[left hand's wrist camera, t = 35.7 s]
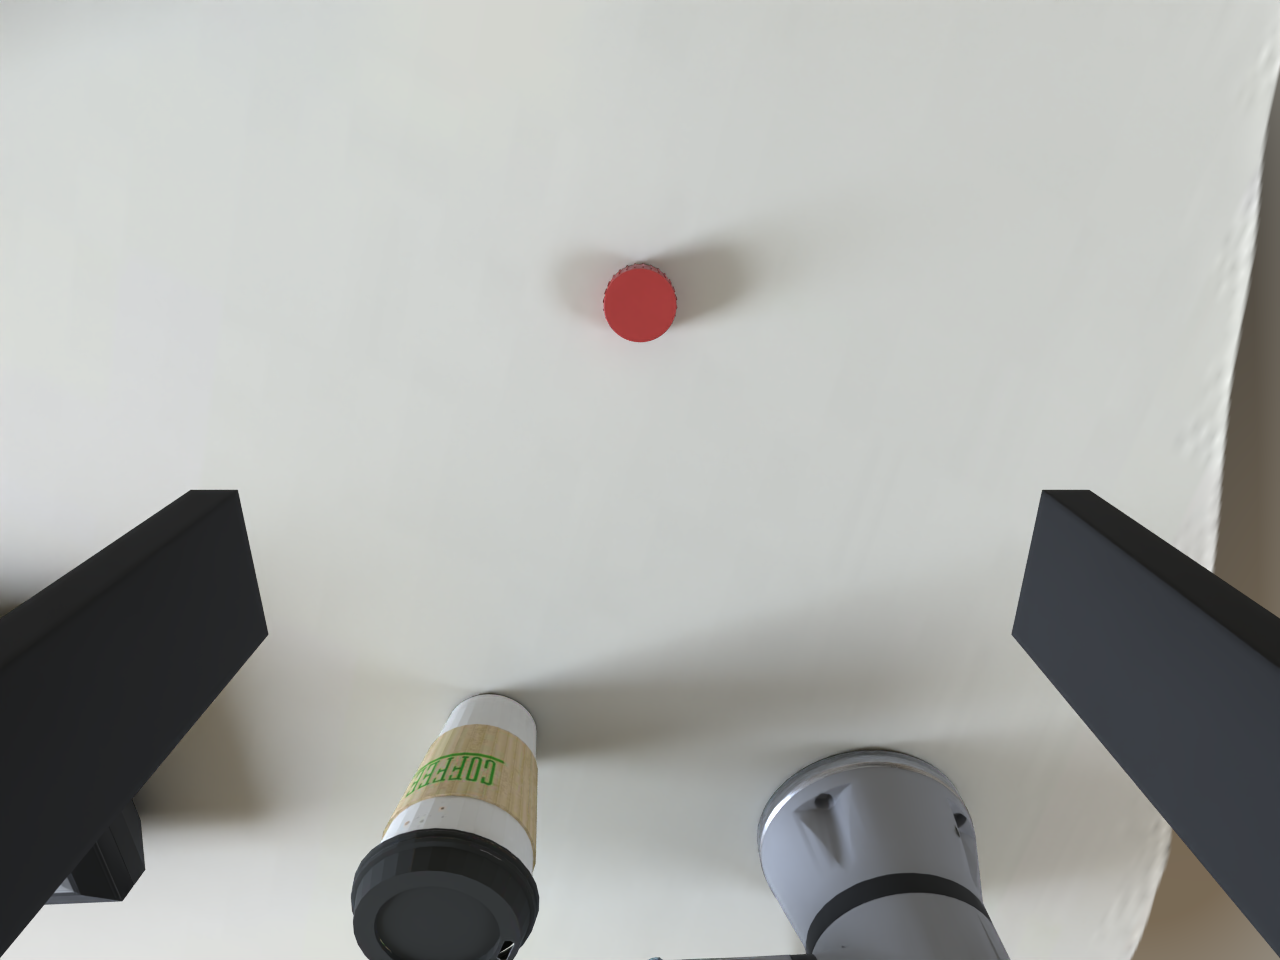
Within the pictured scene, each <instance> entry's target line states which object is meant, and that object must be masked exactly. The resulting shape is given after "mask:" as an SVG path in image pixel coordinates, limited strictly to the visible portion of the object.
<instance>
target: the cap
mask: <svg viewBox="0 0 1280 960" xmlns="http://www.w3.org/2000/svg"><path fill="white" fill-rule="evenodd" d="M674 292H675V289H674V287H672V285H671V281H670V279H668V278H667V277H666V274H665V273H664V274H663V273H662V272H661V271H660V270H659V268H658V269H656V268H655V267H652V265H650V266H649V265H644V263H642V264H634V265H631V266H626V268H624V269H622V270H621V269H620V270H619V272H618V273H617V274H616V275H613V278H612V280H611V281H609V283H608V288H607V289H606V290H605V293H604V294H605V297H604V300H603V303H604V309H603V310H604V312H605V316H606V317H605V318H606V319H607V321H608V323H609V325H610V327H611V328H612V329H613V330H614V331H615V332H616V333H617V334H618V335H619V336H621V337H622V338H624V339H627V340H629V341H633V342H647V341H651V340H654V339H656V338H658V337H659V336H661V335H662V334H664V333H665V332H666V331H667V330H668V328H669V327H670V326H671V324H672V322H673V320H674V317H675V316H676V315H675V314H676V309H677V305H676V300H677V297H676V294H675V293H674Z"/></svg>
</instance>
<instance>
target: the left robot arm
mask: <svg viewBox="0 0 1280 960" xmlns="http://www.w3.org/2000/svg"><path fill="white" fill-rule="evenodd" d="M267 636H268V630H267V625H266V621H265V616H264V611H263V607H262V602H261V597H260V592H259V588H258V583H257V578H256V574H255V569H254V564H253V560H252V555H251V550H250V545H249V541H248V536H247V531H246V527H245V522H244V517H243V512H242V508H241V503H240V498H239V494H238V490H190V491H188V492H187V493H185V494H184V495H183V496H181V497H180V498H178V499H177V500H175V501H174V502H172V503H171V504H169V505H168V506H166V507H165V508H163V509H162V510H160V511H159V512H157V513H156V514H154V515H153V516H151V517H150V518H148V519H147V520H145V521H144V522H143V523H141V524H140V525H138V526H137V527H135V528H134V529H132V530H131V531H129V532H128V533H126V534H125V535H123V536H122V537H120V538H119V539H117V540H116V541H114V542H113V543H111V544H110V545H108V546H107V547H105V548H104V549H103V550H101V551H100V552H98V553H97V554H95V555H94V556H92V557H91V558H89V559H88V560H86V561H85V562H83V563H82V564H80V565H79V566H77V567H76V568H74V569H73V570H71V571H70V572H68V573H67V574H66V575H64V576H63V577H61V578H60V579H58V580H57V581H55V582H54V583H52V584H51V585H49V586H48V587H46V588H45V589H43V590H42V591H40V592H39V593H37V594H36V595H34V596H33V597H31V598H30V599H28V600H27V601H26V602H24V603H23V604H21V605H20V606H18V607H17V608H15V609H14V610H12V611H11V612H9V613H8V614H6V615H5V616H3V617H2V618H0V957H1V956H2V955H3V954H4V953H5V951H6V950H7V949H8V948H9V947H10V945H11V944H12V943H13V942H14V941H15V939H16V938H17V937H18V936H19V934H20V933H21V932H22V931H23V930H24V928H25V927H26V926H27V925H28V924H29V922H30V921H31V920H32V919H33V918H34V916H35V915H36V914H37V913H38V912H39V910H40V909H41V908H42V907H43V906H44V904H45V903H46V902H47V901H48V900H49V898H50V897H51V896H52V895H53V894H54V892H55V891H56V890H57V889H58V887H59V886H60V885H61V884H62V883H63V881H64V880H65V879H66V878H67V877H68V875H69V874H70V873H71V872H72V871H73V869H74V868H75V867H76V866H77V865H78V863H79V862H80V861H81V860H82V859H83V857H84V856H85V855H86V854H87V853H88V851H89V850H90V849H91V848H92V847H93V845H94V844H95V843H96V842H97V840H98V839H99V838H100V837H101V836H102V834H103V833H104V832H105V831H106V830H107V828H108V827H109V826H110V825H111V824H112V822H113V821H114V820H115V819H116V818H117V816H118V815H119V814H120V813H121V812H122V810H123V809H124V808H125V807H126V806H127V804H128V803H129V802H130V801H131V800H132V798H133V797H134V796H135V795H136V793H137V792H138V791H139V790H140V789H141V787H142V786H143V785H144V784H145V783H146V781H147V780H148V779H149V778H150V777H151V775H152V774H153V773H154V772H155V771H156V769H157V768H158V767H159V766H160V765H161V763H162V762H163V761H164V760H165V759H166V757H167V756H168V755H169V754H170V753H171V751H172V750H173V749H174V748H175V746H176V745H177V744H178V743H179V742H180V740H181V739H182V738H183V737H184V736H185V734H186V733H187V732H188V731H189V730H190V728H191V727H192V726H193V725H194V724H195V722H196V721H197V720H198V719H199V718H200V716H201V715H202V714H203V713H204V712H205V710H206V709H207V708H208V707H209V706H210V704H211V703H212V702H213V701H214V699H215V698H216V697H217V696H218V695H219V693H220V692H221V691H222V690H223V689H224V687H225V686H226V685H227V684H228V683H229V681H230V680H231V679H232V678H233V677H234V675H235V674H236V673H237V672H238V671H239V669H240V668H241V667H242V666H243V665H244V663H245V662H246V661H247V660H248V658H249V657H250V656H251V655H252V654H253V652H254V651H255V650H256V649H257V648H258V646H259V645H260V644H261V643H262V642H263V640H264V639H265V638H266V637H267ZM1012 636H1013V637H1014V638H1015V639H1016V640H1017V642H1018V643H1019V644H1020V645H1021V646H1022V648H1023V649H1024V650H1025V651H1026V652H1027V654H1028V655H1029V656H1030V657H1031V658H1032V660H1033V661H1034V662H1035V663H1036V665H1037V666H1038V667H1039V668H1040V669H1041V671H1042V672H1043V673H1044V674H1045V675H1046V677H1047V678H1048V679H1049V680H1050V681H1051V683H1052V684H1053V685H1054V686H1055V687H1056V689H1057V690H1058V691H1059V692H1060V693H1061V695H1062V696H1063V697H1064V698H1065V699H1066V701H1067V702H1068V703H1069V704H1070V706H1071V707H1072V708H1073V709H1074V710H1075V712H1076V713H1077V714H1078V715H1079V716H1080V718H1081V719H1082V720H1083V721H1084V722H1085V724H1086V725H1087V726H1088V727H1089V728H1090V730H1091V731H1092V732H1093V733H1094V734H1095V736H1096V737H1097V738H1098V739H1099V740H1100V742H1101V743H1102V744H1103V745H1104V746H1105V748H1106V749H1107V750H1108V751H1109V753H1110V754H1111V755H1112V756H1113V757H1114V759H1115V760H1116V761H1117V762H1118V763H1119V765H1120V766H1121V767H1122V768H1123V769H1124V771H1125V772H1126V773H1127V774H1128V775H1129V777H1130V778H1131V779H1132V780H1133V781H1134V783H1135V784H1136V785H1137V786H1138V787H1139V789H1140V790H1141V791H1142V792H1143V793H1144V795H1145V796H1146V797H1147V798H1148V800H1149V801H1150V802H1151V803H1152V804H1153V806H1154V807H1155V808H1156V809H1157V810H1158V812H1159V813H1160V814H1161V815H1162V816H1163V818H1164V819H1165V820H1166V821H1167V822H1168V824H1169V825H1170V826H1171V827H1172V828H1173V830H1174V831H1175V832H1176V833H1177V834H1178V836H1179V837H1180V838H1181V839H1182V840H1183V842H1184V843H1185V844H1186V845H1187V847H1188V848H1189V849H1190V850H1191V851H1192V853H1193V854H1194V855H1195V856H1196V857H1197V859H1198V860H1199V861H1200V862H1201V863H1202V865H1203V866H1204V867H1205V868H1206V869H1207V871H1208V872H1209V873H1210V874H1211V875H1212V877H1213V878H1214V879H1215V880H1216V881H1217V883H1218V884H1219V885H1220V886H1221V887H1222V889H1223V890H1224V891H1225V892H1226V893H1227V895H1228V896H1229V897H1230V898H1231V900H1232V901H1233V902H1234V903H1235V904H1236V905H1237V907H1238V908H1239V909H1240V910H1241V912H1242V913H1243V914H1244V915H1245V916H1246V918H1247V919H1248V920H1249V921H1250V922H1251V924H1252V925H1253V926H1254V927H1255V928H1256V930H1257V931H1258V932H1259V933H1260V934H1261V936H1262V937H1263V938H1264V939H1265V940H1266V942H1267V943H1268V944H1269V945H1270V947H1271V948H1272V949H1273V950H1274V951H1275V953H1276V954H1277V955H1278V956H1279V957H1280V618H1278V617H1277V616H1275V615H1274V614H1272V613H1271V612H1269V611H1268V610H1266V609H1265V608H1263V607H1262V606H1260V605H1259V604H1257V603H1256V602H1254V601H1253V600H1251V599H1250V598H1249V597H1247V596H1246V595H1244V594H1243V593H1241V592H1240V591H1238V590H1237V589H1235V588H1234V587H1232V586H1231V585H1229V584H1228V583H1226V582H1225V581H1223V580H1222V579H1220V578H1219V577H1217V576H1216V575H1214V574H1213V573H1212V572H1210V571H1209V570H1207V569H1206V568H1204V567H1203V566H1201V565H1200V564H1198V563H1197V562H1195V561H1194V560H1192V559H1191V558H1189V557H1188V556H1186V555H1185V554H1183V553H1182V552H1180V551H1179V550H1177V549H1176V548H1175V547H1173V546H1172V545H1170V544H1169V543H1167V542H1166V541H1164V540H1163V539H1161V538H1160V537H1158V536H1157V535H1155V534H1154V533H1152V532H1151V531H1149V530H1148V529H1146V528H1145V527H1143V526H1142V525H1140V524H1139V523H1137V522H1136V521H1135V520H1133V519H1132V518H1130V517H1129V516H1127V515H1126V514H1124V513H1123V512H1121V511H1120V510H1118V509H1117V508H1115V507H1114V506H1112V505H1111V504H1109V503H1108V502H1106V501H1105V500H1103V499H1102V498H1100V497H1099V496H1097V495H1096V494H1095V493H1093V492H1092V491H1090V490H1042V494H1041V498H1040V503H1039V508H1038V512H1037V517H1036V522H1035V527H1034V531H1033V536H1032V541H1031V545H1030V550H1029V555H1028V560H1027V564H1026V569H1025V574H1024V578H1023V583H1022V588H1021V592H1020V597H1019V602H1018V607H1017V611H1016V616H1015V621H1014V625H1013V630H1012ZM757 842H758V849H759V855H760V861H761V866H762V870H763V873H764V876H765V878H766V881H767V883H768V885H769V887H770V889H771V891H772V892H773V894H774V896H775V897H776V898H777V900H778V902H779V904H780V906H781V907H782V909H783V911H784V913H785V914H786V916H787V918H788V920H789V921H790V923H791V925H792V927H793V928H794V930H795V932H796V933H797V935H798V937H799V938H800V940H801V942H802V943H803V945H804V947H805V950H806V954H802V955H776V956H758V957H737V958H710V959H684V960H1010V958H1009V956H1008V954H1007V952H1006V950H1005V948H1004V946H1003V944H1002V942H1001V940H1000V938H999V936H998V934H997V932H996V930H995V928H994V926H993V924H992V921H991V919H990V917H989V915H988V913H987V911H986V909H985V907H984V904H983V900H982V891H981V882H980V873H979V864H978V855H977V846H976V837H975V832H974V828H973V823H972V820H971V817H970V814H969V812H968V810H967V808H966V806H965V804H964V802H963V800H962V798H961V797H960V795H959V793H958V791H957V790H956V788H955V786H954V785H953V784H952V783H951V781H950V780H949V779H948V778H947V777H946V776H945V775H944V774H943V773H941V772H940V771H939V770H938V769H936V768H935V767H933V766H931V765H930V764H928V763H926V762H924V761H922V760H920V759H917V758H915V757H912V756H908V755H905V754H901V753H896V752H890V751H877V750H868V751H855V752H848V753H844V754H839V755H835V756H832V757H828V758H826V759H823V760H820V761H818V762H816V763H814V764H811V765H809V766H808V767H806V768H804V769H802V770H801V771H799V772H798V773H796V774H795V775H793V776H792V777H791V778H789V779H788V780H787V781H786V782H785V783H784V784H782V785H781V786H780V787H779V788H778V790H777V791H776V792H775V793H774V794H773V796H772V797H771V798H770V800H769V801H768V803H767V805H766V807H765V808H764V810H763V813H762V815H761V818H760V822H759V825H758V833H757ZM649 960H662V959H661V958H660V957H655V958H651V959H649Z"/></svg>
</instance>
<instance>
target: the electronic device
mask: <svg viewBox="0 0 1280 960" xmlns="http://www.w3.org/2000/svg"><path fill="white" fill-rule="evenodd" d="M144 871H145V862H144V852H143V841H142V830H141V820H140V818H139V815H138V813H137V810H136V808H135V806H134V803H133V801H132V800H131V801H130V802H129V803H128V804H127V806H126V807H125V808H124V809H123V810H122V812H121V813H120V814H119V815H118V816H117V818H116V819H115V820H114V821H113V822H112V824H111V825H110V826H109V827H108V828H107V830H106V831H105V832H104V833H103V834H102V836H101V837H100V838H99V839H98V840H97V842H96V843H95V844H94V845H93V847H92V848H91V849H90V850H89V851H88V853H87V854H86V855H85V856H84V857H83V859H82V860H81V861H80V862H79V863H78V865H77V866H76V867H75V868H74V869H73V871H72V872H71V873H70V874H69V875H68V877H67V878H66V879H65V880H64V881H63V883H62V884H61V885H60V886H59V887H58V889H57V890H56V891H55V892H54V894H53V895H52V896H51V897H50V898H49V900H48V901H47V902H46V903H45V904H44V905H46V904H69V903H92V902H115V901H123V900H124V898H125V897H126V896H127V894H128V893H129V891H130V890H131V889H132V887H133V885H134V884H135V883H136V882H137V880H138V879H139V878H140V876H141V875H142V873H143V872H144Z"/></svg>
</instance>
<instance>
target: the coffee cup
mask: <svg viewBox="0 0 1280 960" xmlns="http://www.w3.org/2000/svg"><path fill="white" fill-rule="evenodd" d="M536 734H537V730H536V725H535V722H534V720H533V718H532V716H531V715H530V713H529V712H528V711H527V710H526V709H525V708H524V707H523V706H522V705H521V704H519V703H518V702H516V701H514V700H512V699H510V698H507V697H504V696H500V695H491V694H486V695H478V696H474V697H471V698H469V699H467V700H464V701H463V702H461V703H460V704H459V705H457V707H456V708H455V709H454V710H453V711H452V713H451V715H450V717H449V718H448V720H447V722H446V724H445V726H444V728H443V729H442V731H441V733H440V735H439V737H438V738H437V739H436V740H435V742H434V743H433V744H432V745H431V747H430V749H429V750H428V752H427V754H426V756H425V758H424V759H423V761H422V763H421V765H420V767H419V768H418V770H417V772H416V774H415V775H414V777H413V779H412V781H411V783H410V784H409V786H408V788H407V790H406V792H405V793H404V795H403V797H402V799H401V801H400V802H399V804H398V806H397V808H396V809H395V811H394V813H393V815H392V817H391V818H390V820H389V822H388V824H387V826H386V828H385V830H384V832H383V837H382V841H381V843H380V844H379V845H378V846H376V847H375V848H374V849H372V850H371V851H370V852H369V853H368V854H367V855H366V857H365V858H364V859H363V860H362V861H361V863H360V865H359V867H358V869H357V871H356V873H355V877H354V882H353V887H352V893H351V903H352V912H353V915H354V917H353V927H354V935H355V937H356V940H357V943H358V945H359V947H360V948H361V950H362V951H363V953H364V955H365V956H366V957H367V958H368V959H369V960H513V959H514V957H515V956H516V954H517V952H518V950H519V948H520V947H521V946H522V945H523V944H524V943H525V941H526V940H527V938H528V936H529V935H530V933H531V932H532V929H533V926H534V923H535V920H536V917H537V914H538V911H539V894H538V890H537V885H536V883H535V881H534V879H533V877H532V873H533V870H534V867H535V862H536V822H537V772H538V768H537V764H536ZM513 943H514V945H513V946H512V947H510V946H511V945H512V944H513ZM508 947H510V948H508ZM506 948H508V949H507V950H505V949H506ZM503 950H505V951H503ZM502 951H503V952H502ZM500 952H501V953H500Z"/></svg>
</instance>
